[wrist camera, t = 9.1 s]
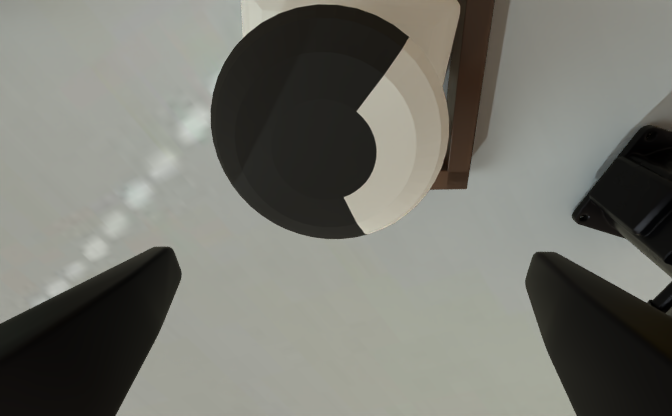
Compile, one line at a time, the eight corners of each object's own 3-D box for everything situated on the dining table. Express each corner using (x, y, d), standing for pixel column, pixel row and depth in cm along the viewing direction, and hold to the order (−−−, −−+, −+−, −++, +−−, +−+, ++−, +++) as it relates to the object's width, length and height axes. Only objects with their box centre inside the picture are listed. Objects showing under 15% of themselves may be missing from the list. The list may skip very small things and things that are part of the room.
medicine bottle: (285, 130, 20) (195, 253, 10) (286, -9, 16) (143, -51, 6) (402, 143, 20) (438, 283, 9) (429, 4, 16) (536, -14, 6)
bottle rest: (493, -86, 14) (510, -100, 13) (458, 174, 20) (467, 189, 19) (265, -62, 15) (252, -72, 14) (298, 178, 22) (292, 192, 20)
